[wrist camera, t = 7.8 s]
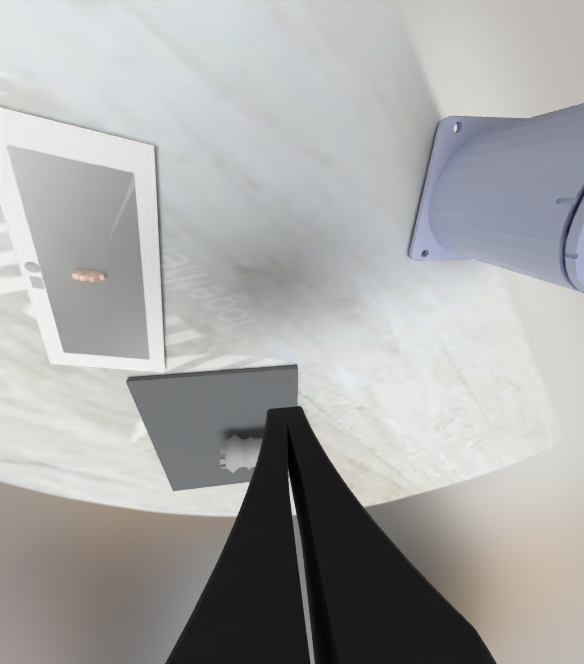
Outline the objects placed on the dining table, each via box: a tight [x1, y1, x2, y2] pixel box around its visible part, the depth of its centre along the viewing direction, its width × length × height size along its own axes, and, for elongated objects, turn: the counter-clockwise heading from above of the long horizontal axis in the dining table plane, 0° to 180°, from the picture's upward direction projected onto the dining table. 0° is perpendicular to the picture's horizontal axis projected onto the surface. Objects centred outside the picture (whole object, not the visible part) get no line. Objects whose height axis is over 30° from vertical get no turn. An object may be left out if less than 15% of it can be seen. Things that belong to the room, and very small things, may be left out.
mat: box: [126, 365, 298, 491], centre depth 25 cm, size 14×16×1 cm
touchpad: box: [0, 107, 165, 372], centre depth 15 cm, size 8×15×2 cm, turn 168°
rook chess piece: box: [220, 435, 289, 474], centre depth 23 cm, size 4×4×8 cm
